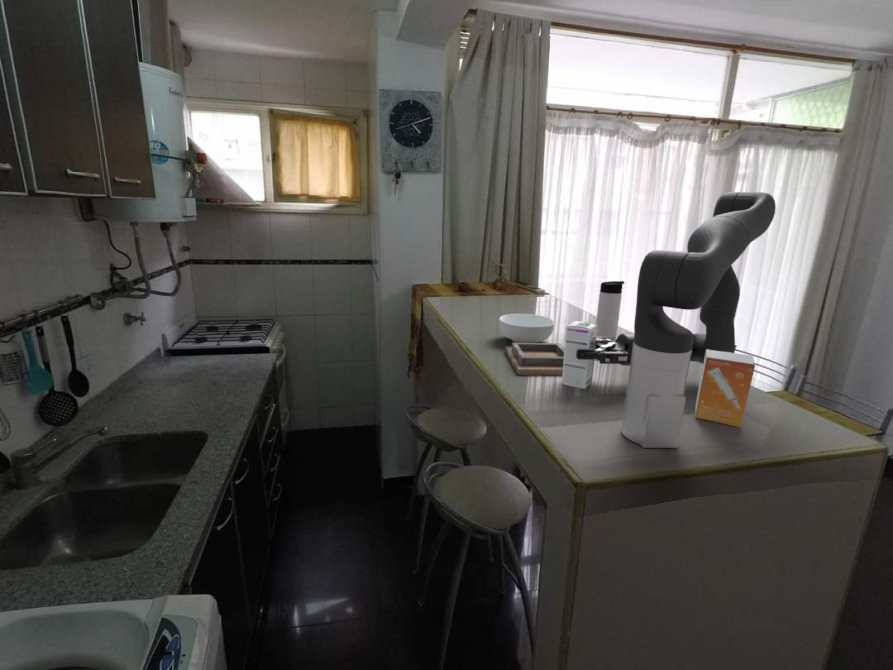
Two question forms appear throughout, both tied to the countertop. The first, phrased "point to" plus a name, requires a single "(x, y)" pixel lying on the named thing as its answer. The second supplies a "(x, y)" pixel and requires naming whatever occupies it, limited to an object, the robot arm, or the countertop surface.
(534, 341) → the cereal bowl
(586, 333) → the syrup box
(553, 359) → the wooden tray
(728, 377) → the small box
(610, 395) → the countertop surface
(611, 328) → the travel mug
